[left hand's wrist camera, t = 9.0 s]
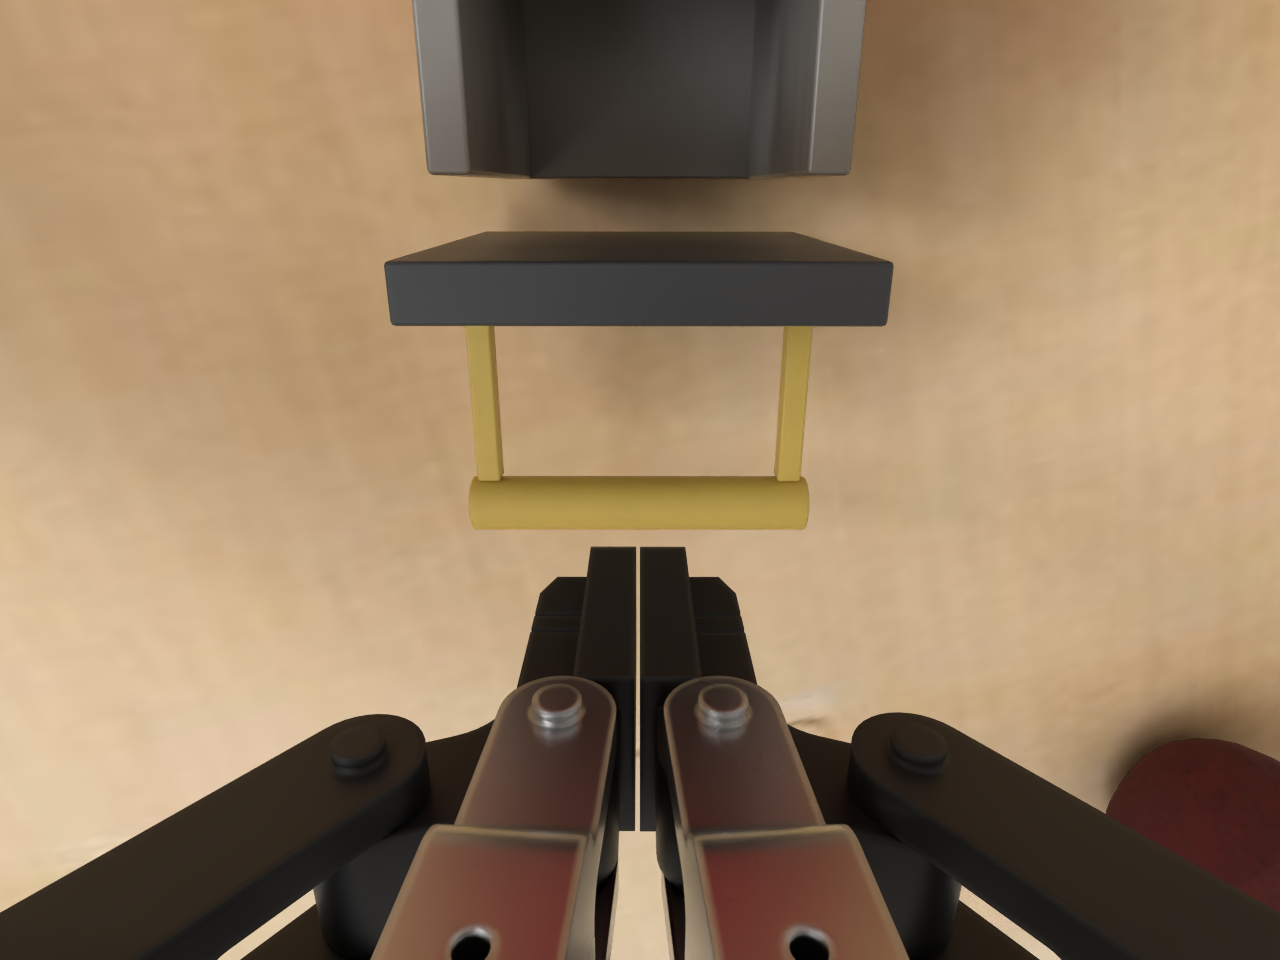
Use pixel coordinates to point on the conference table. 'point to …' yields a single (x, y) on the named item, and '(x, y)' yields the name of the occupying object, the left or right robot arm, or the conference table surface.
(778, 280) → the drawer
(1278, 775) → the dark red ball
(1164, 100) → the conference table surface
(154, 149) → the conference table surface
